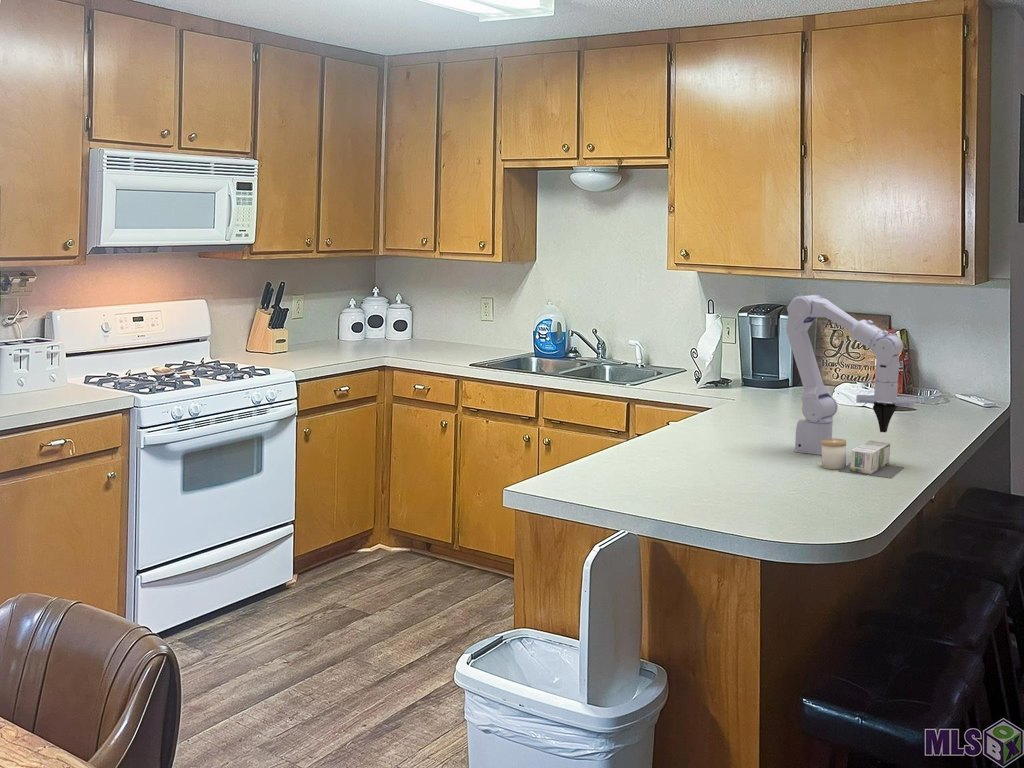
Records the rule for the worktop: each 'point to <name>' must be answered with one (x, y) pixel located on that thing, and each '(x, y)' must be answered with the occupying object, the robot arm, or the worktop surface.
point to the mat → (883, 472)
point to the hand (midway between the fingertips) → (883, 431)
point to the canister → (833, 453)
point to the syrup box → (870, 457)
